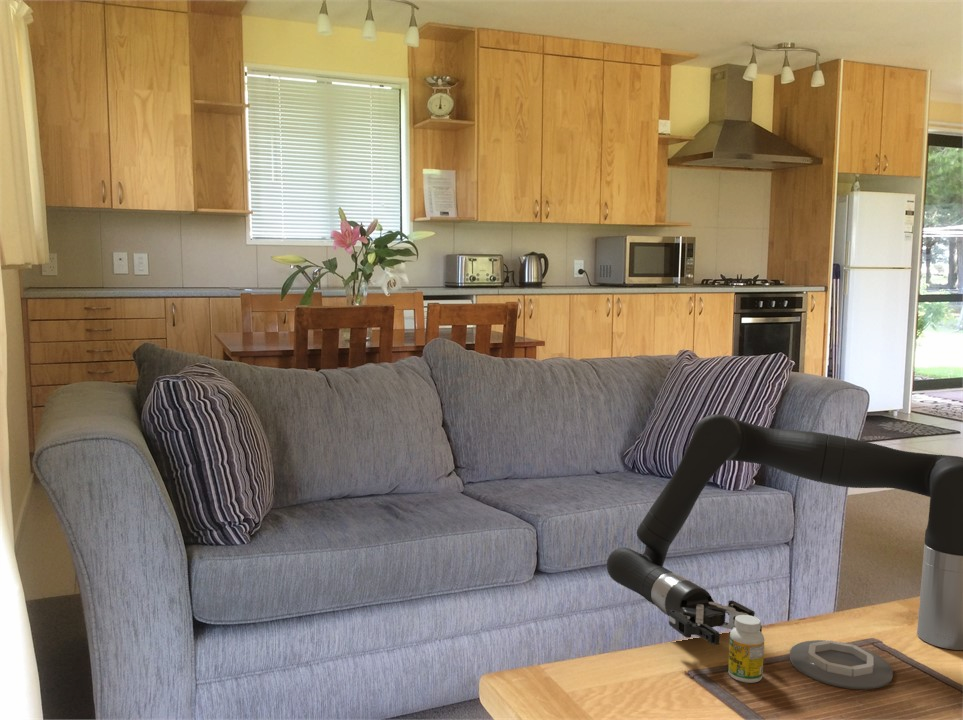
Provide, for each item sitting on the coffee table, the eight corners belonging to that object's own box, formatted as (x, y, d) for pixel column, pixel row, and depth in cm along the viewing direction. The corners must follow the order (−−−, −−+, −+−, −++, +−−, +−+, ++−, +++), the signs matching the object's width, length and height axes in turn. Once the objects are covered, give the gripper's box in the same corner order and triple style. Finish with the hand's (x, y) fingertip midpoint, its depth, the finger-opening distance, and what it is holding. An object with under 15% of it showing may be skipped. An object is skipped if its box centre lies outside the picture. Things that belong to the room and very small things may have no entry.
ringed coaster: (793, 637, 153) (794, 627, 153) (891, 656, 146) (892, 645, 146) (785, 675, 139) (786, 664, 138) (893, 698, 132) (894, 686, 132)
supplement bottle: (769, 681, 137) (772, 624, 136) (740, 685, 135) (743, 628, 134) (749, 666, 142) (752, 611, 141) (721, 670, 140) (724, 614, 139)
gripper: (648, 584, 151) (704, 620, 136) (714, 575, 157) (774, 608, 142) (647, 624, 152) (702, 664, 137) (712, 613, 158) (772, 650, 143)
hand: (739, 635), depth 140 cm, fingers open, 8 cm apart
